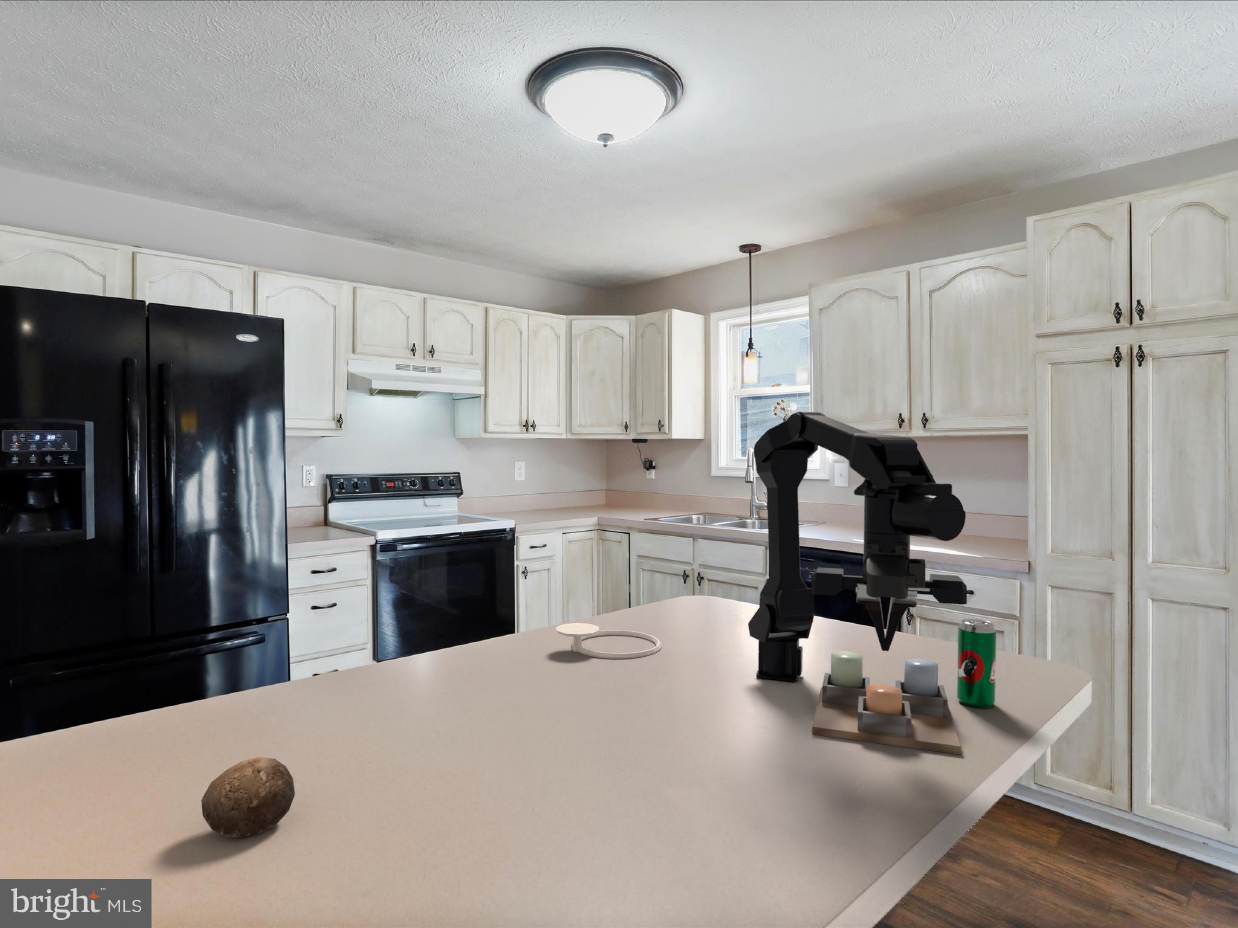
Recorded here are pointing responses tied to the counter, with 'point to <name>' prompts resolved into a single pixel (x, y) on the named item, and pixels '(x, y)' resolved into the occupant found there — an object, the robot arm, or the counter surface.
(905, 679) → the slate-blue button
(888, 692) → the terracotta button
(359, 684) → the counter surface
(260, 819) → the brown speckled pebble
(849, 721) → the walnut button board
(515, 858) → the counter surface
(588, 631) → the hand towel holder
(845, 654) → the sage button
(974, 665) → the soda can
